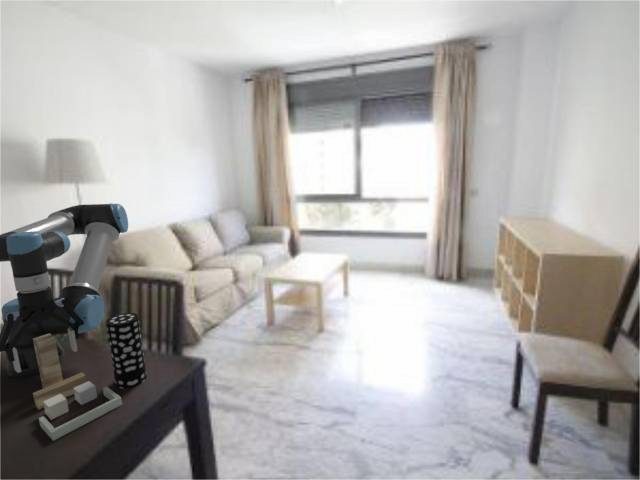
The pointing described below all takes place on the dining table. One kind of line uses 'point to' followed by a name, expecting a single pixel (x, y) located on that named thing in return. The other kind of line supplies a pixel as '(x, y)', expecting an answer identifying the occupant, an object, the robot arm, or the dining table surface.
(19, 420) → the dining table surface
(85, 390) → the gray cube
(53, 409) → the off-white cube
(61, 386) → the cream t-shaped block
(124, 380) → the spotted tube
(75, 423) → the bay
